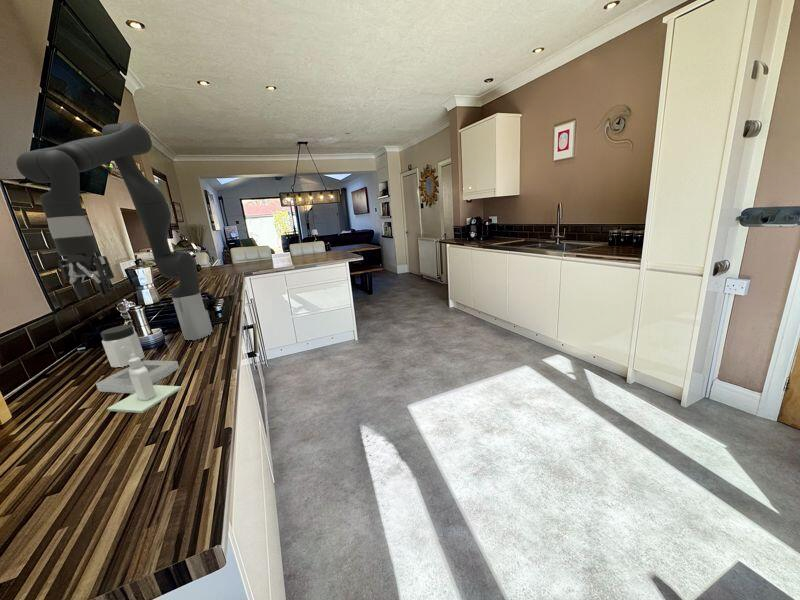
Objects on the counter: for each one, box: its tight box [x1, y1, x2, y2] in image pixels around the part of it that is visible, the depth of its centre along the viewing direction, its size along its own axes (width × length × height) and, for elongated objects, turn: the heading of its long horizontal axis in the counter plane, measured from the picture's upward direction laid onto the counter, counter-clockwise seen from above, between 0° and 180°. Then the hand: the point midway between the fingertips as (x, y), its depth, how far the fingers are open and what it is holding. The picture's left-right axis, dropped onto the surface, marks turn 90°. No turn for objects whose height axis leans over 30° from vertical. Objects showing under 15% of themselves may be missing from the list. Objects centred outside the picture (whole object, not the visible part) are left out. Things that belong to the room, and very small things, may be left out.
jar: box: [100, 324, 146, 368], centre depth 107 cm, size 9×8×12 cm
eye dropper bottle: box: [128, 354, 156, 401], centre depth 82 cm, size 4×6×12 cm
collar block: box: [95, 359, 180, 394], centre depth 94 cm, size 14×14×2 cm
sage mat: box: [106, 384, 182, 414], centre depth 83 cm, size 11×11×1 cm
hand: (95, 296), depth 87 cm, fingers open, 8 cm apart
